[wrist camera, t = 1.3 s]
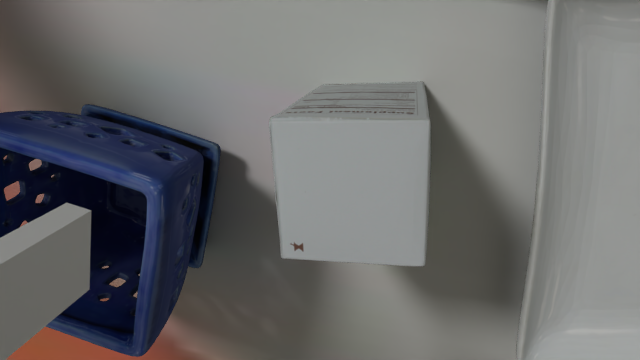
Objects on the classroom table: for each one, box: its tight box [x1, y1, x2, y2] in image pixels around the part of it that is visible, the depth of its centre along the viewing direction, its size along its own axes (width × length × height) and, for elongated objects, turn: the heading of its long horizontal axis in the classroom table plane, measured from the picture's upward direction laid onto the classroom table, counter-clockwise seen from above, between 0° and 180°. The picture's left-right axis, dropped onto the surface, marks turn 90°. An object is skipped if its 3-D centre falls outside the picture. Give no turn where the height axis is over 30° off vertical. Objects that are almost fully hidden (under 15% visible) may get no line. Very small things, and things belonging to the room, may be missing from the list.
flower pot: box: [0, 104, 220, 357], centre depth 31 cm, size 13×13×12 cm
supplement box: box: [269, 82, 431, 266], centre depth 26 cm, size 7×7×13 cm
